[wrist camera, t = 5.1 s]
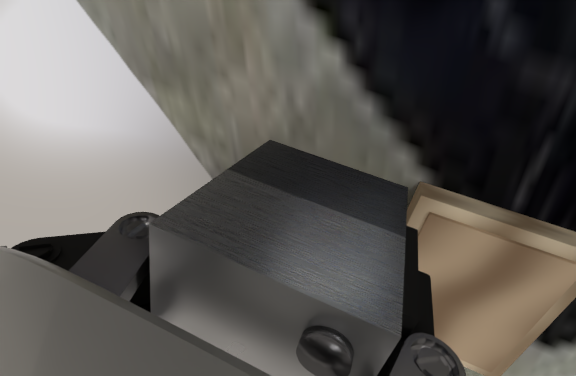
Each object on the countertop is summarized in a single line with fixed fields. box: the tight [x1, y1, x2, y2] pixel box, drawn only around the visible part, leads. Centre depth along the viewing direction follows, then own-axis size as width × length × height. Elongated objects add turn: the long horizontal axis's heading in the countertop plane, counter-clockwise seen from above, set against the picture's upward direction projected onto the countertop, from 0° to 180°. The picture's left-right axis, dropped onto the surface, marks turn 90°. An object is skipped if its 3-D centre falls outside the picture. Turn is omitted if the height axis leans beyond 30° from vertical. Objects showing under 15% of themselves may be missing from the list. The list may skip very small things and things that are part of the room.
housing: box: [149, 140, 408, 376], centre depth 9 cm, size 5×5×6 cm
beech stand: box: [406, 182, 576, 376], centre depth 25 cm, size 12×14×3 cm
